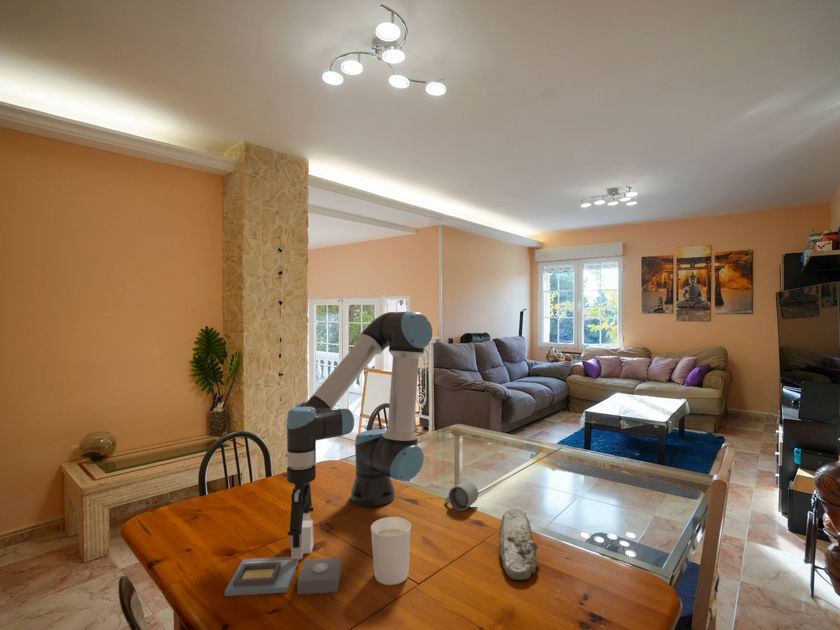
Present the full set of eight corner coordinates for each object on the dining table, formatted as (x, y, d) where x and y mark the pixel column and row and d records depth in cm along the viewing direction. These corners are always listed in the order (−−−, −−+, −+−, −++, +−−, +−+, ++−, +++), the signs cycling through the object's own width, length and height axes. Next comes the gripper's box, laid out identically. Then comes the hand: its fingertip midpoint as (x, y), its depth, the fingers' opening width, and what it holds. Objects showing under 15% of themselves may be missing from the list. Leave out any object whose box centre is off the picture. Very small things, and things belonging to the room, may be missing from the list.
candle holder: (417, 567, 110) (416, 519, 110) (402, 590, 101) (402, 538, 101) (381, 560, 114) (380, 514, 114) (364, 583, 104) (363, 532, 104)
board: (298, 560, 114) (298, 551, 114) (287, 592, 101) (287, 582, 101) (243, 563, 113) (243, 554, 113) (224, 596, 100) (224, 585, 100)
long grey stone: (531, 522, 137) (499, 521, 138) (530, 504, 137) (498, 504, 139) (543, 584, 102) (499, 582, 104) (541, 561, 103) (498, 560, 104)
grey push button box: (341, 569, 110) (341, 555, 110) (337, 592, 101) (337, 577, 101) (304, 571, 109) (304, 557, 109) (297, 594, 100) (297, 579, 100)
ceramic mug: (480, 503, 147) (479, 480, 147) (469, 513, 140) (468, 489, 140) (452, 497, 152) (451, 475, 153) (440, 506, 146) (439, 483, 146)
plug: (313, 545, 122) (312, 520, 122) (310, 553, 118) (310, 527, 118) (292, 546, 121) (291, 521, 121) (288, 554, 117) (288, 528, 117)
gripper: (296, 453, 131) (296, 527, 130) (276, 481, 107) (276, 571, 107) (321, 452, 131) (321, 526, 131) (307, 480, 108) (307, 570, 107)
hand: (301, 547), depth 119 cm, fingers open, 11 cm apart
